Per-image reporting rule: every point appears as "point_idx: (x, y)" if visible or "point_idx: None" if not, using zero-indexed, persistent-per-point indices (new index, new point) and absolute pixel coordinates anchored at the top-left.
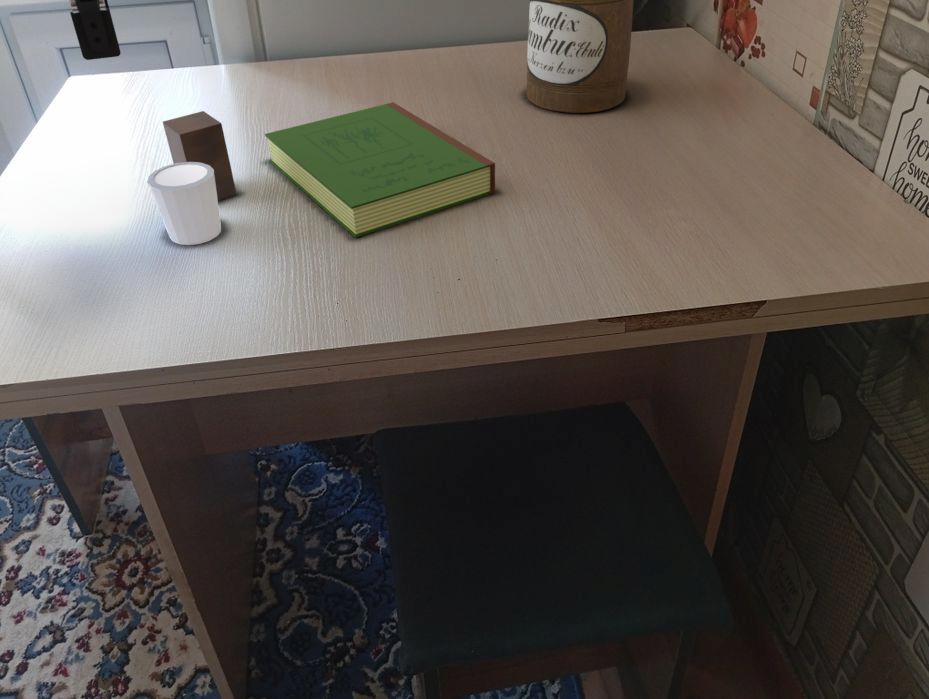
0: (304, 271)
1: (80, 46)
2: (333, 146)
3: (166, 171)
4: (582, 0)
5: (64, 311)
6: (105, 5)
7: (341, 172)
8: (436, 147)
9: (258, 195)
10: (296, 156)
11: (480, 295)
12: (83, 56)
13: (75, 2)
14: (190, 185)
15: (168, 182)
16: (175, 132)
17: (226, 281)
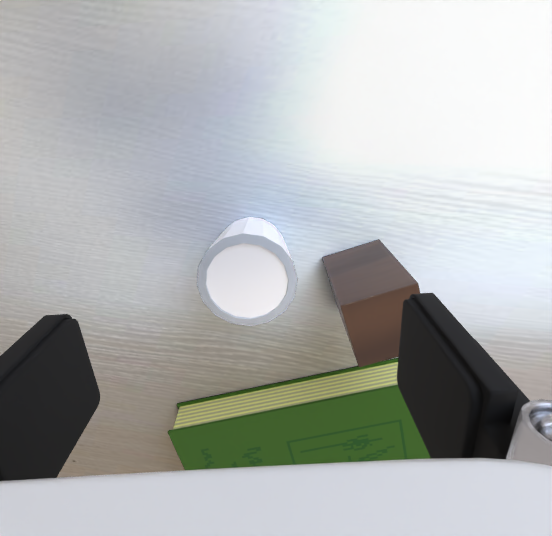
0: (121, 348)
1: (24, 335)
2: (345, 444)
3: (271, 262)
4: None
5: (90, 73)
6: (422, 435)
7: (263, 439)
8: None
9: (325, 329)
10: (335, 403)
11: None
12: (42, 318)
13: None
14: (203, 293)
15: (227, 263)
16: (358, 299)
17: (119, 272)
